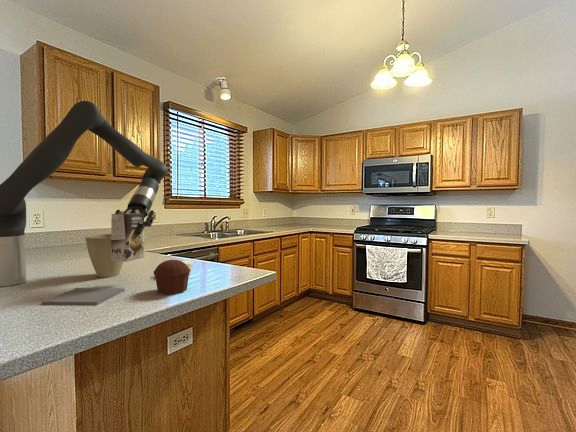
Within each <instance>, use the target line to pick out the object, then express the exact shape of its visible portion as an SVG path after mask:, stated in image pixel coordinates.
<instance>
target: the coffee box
mask: <svg viewBox="0 0 576 432" xmlns="http://www.w3.org/2000/svg"><path fill="white" fill-rule="evenodd" d="M141 217H142V219H143V221H144V222H145V218H144V214H137V213H128V214H115V213H111V220H112V221H111V220H110V223H111V227H110V228H111V230H110V231H111V232H110V234H111V261H122V262H123V263H124V262H131V261H135V260H140V259H143V258H145V228H144V229H143V231H142V233H141V234H140V235H139V236H137V235H136V234H135V231H136V228H137V226H138V224H140V222H139V221H140V218H141Z"/></svg>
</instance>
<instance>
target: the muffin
mask: <svg viewBox="0 0 576 432" xmlns="http://www.w3.org/2000/svg"><path fill="white" fill-rule="evenodd" d="M179 260H180V259H168V260H164V261H162V262H160V263H159V264H158V265H156V268H155V269H154V270H153V275H154V277H155V283H156V288H157V289H156V290H157V293H158V294H159V295H165V296H171V295H178V294H182V293H184V292H186V291H187V290H188V283H189V277H190V275H189V272H190V271H191V270H190V269H189V268H188V266H187V265H186V264H185V263H184V262H182V261H179Z"/></svg>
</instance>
